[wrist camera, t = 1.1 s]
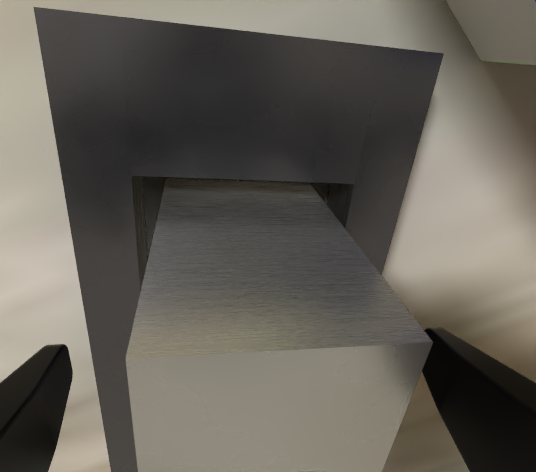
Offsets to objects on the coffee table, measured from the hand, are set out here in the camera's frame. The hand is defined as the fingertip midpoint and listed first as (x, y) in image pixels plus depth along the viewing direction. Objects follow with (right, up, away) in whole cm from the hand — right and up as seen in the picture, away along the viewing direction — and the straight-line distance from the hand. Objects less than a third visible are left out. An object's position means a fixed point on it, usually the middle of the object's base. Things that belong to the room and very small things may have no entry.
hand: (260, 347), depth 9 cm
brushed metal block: (-1, +2, +5) cm, 5 cm away
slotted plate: (-1, +1, +6) cm, 6 cm away
